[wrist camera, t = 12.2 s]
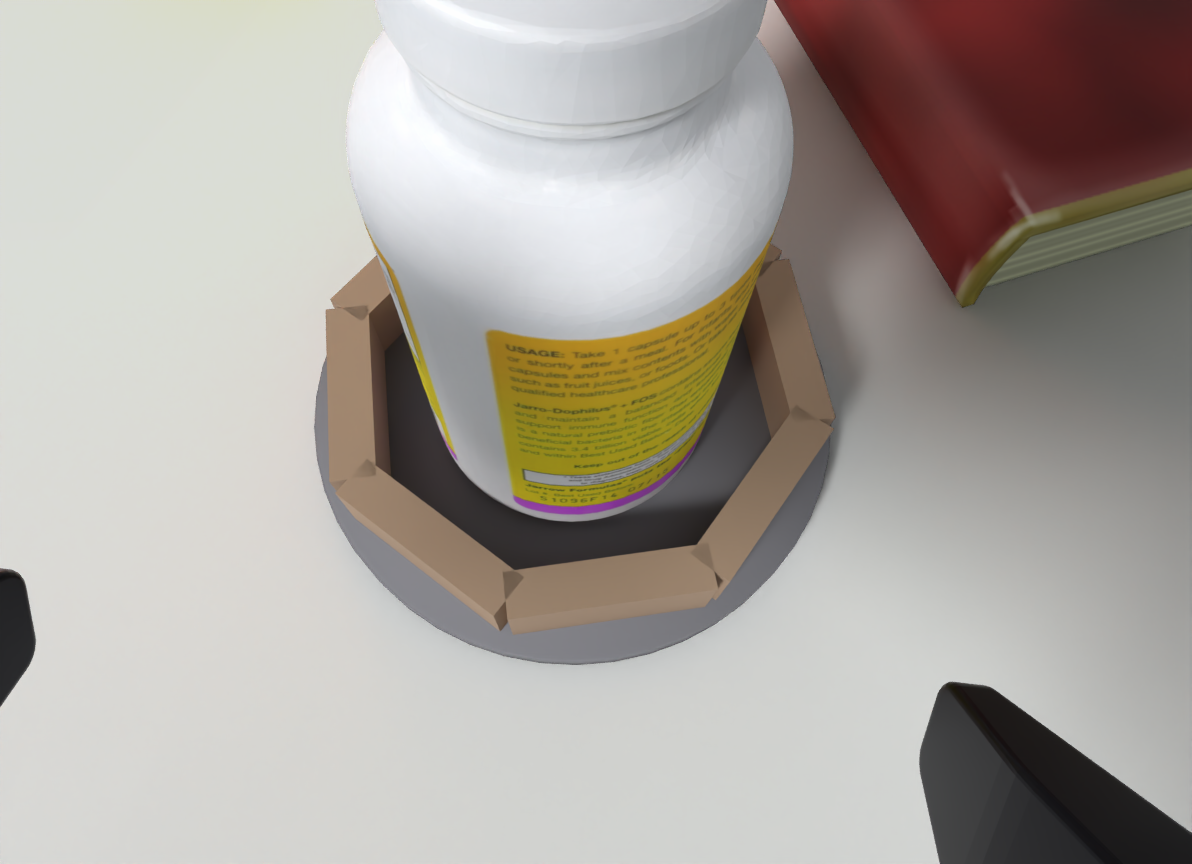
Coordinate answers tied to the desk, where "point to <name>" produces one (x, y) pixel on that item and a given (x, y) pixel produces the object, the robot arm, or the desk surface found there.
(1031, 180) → the hardcover book
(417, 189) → the supplement bottle
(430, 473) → the coaster ring
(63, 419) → the desk surface
